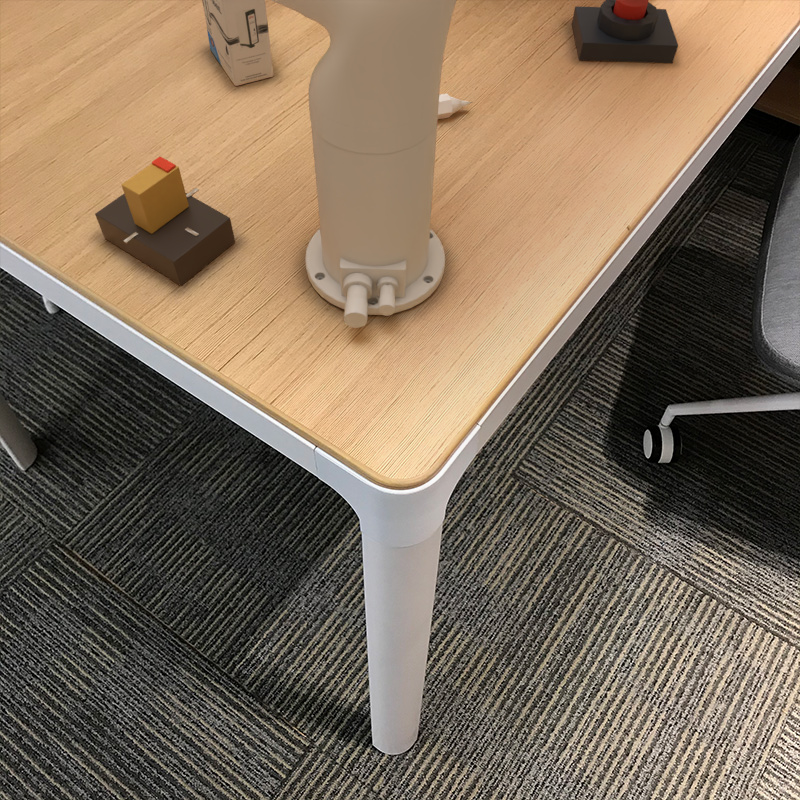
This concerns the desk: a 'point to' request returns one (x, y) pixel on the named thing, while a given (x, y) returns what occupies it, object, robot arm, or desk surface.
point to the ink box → (240, 38)
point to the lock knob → (155, 195)
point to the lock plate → (170, 237)
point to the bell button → (630, 9)
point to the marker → (449, 105)
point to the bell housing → (623, 35)
